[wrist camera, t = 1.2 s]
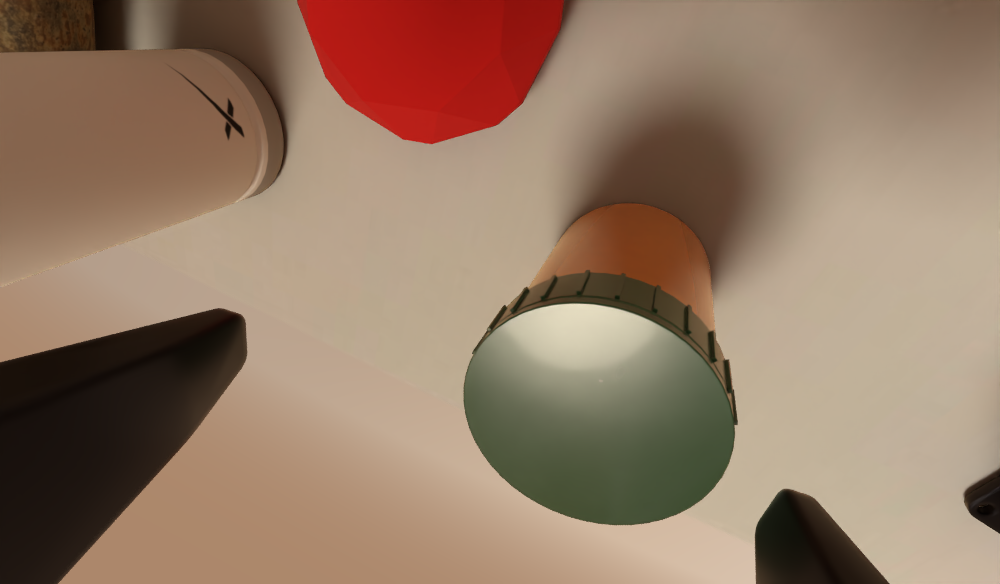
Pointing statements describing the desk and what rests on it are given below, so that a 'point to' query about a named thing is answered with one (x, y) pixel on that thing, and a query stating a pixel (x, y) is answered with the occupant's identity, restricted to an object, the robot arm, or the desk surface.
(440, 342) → the desk surface
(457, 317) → the desk surface
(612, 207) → the jam jar
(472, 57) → the gemstone
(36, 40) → the stone weight
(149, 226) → the travel mug
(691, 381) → the jam lid
